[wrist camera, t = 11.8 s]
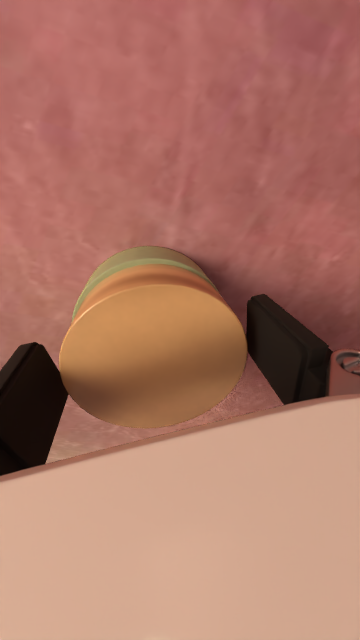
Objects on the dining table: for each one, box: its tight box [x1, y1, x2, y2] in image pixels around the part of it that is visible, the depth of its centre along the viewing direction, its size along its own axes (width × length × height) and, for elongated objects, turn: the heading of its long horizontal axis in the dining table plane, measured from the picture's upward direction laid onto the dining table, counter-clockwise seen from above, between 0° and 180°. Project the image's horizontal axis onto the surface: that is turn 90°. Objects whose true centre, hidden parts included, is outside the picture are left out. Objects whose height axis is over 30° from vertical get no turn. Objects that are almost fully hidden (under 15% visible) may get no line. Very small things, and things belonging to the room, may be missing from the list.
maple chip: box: [59, 264, 248, 428], centre depth 10 cm, size 8×8×2 cm
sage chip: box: [72, 246, 221, 322], centre depth 12 cm, size 8×8×2 cm
